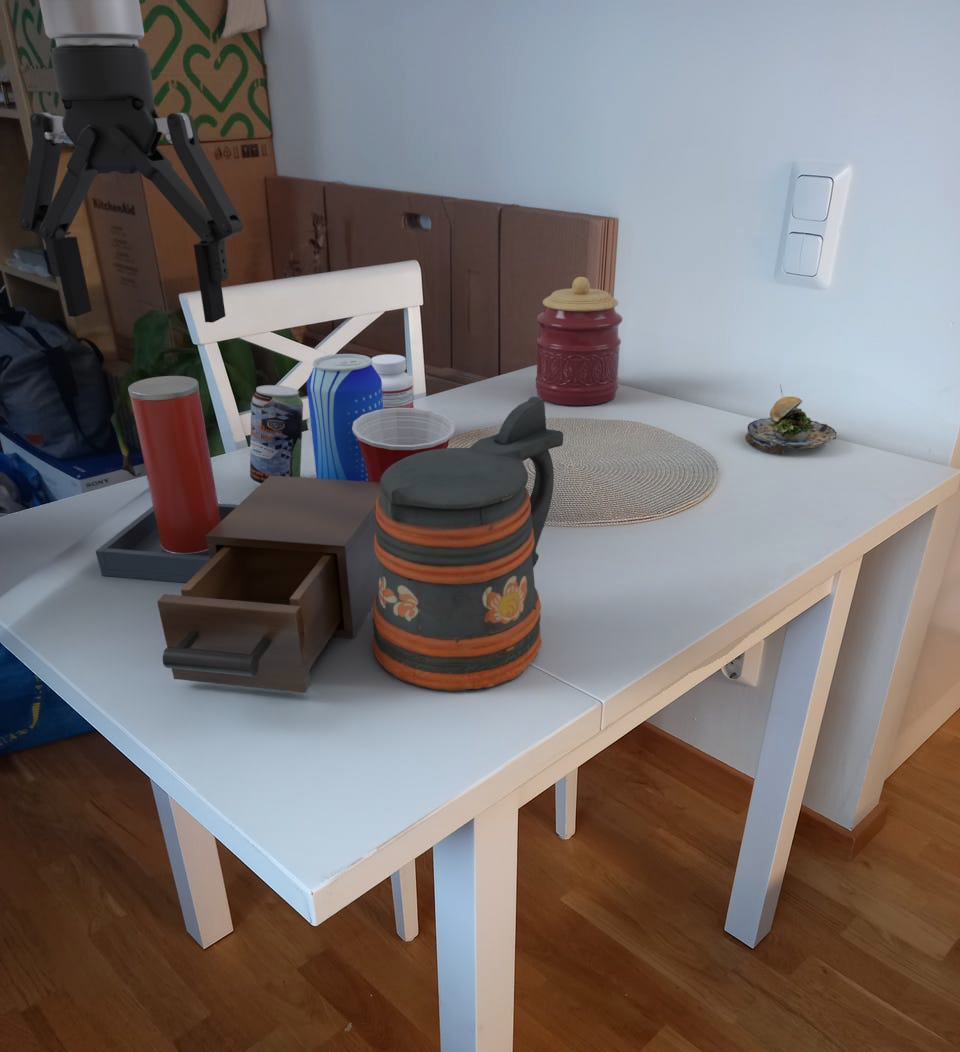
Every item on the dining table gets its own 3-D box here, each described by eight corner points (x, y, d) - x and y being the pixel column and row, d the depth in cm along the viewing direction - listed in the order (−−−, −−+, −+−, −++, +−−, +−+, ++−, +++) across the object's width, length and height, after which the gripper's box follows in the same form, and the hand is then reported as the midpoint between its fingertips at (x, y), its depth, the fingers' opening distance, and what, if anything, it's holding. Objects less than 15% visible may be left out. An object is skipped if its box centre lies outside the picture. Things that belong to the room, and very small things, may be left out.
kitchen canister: (627, 404, 141) (636, 283, 132) (543, 409, 140) (547, 286, 131) (605, 382, 152) (612, 268, 143) (528, 385, 151) (530, 271, 142)
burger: (782, 463, 119) (792, 405, 115) (726, 436, 128) (733, 382, 124) (855, 449, 123) (866, 393, 119) (795, 424, 132) (804, 371, 129)
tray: (101, 575, 94) (95, 550, 92) (165, 522, 105) (161, 499, 104) (226, 586, 91) (222, 561, 90) (278, 530, 103) (275, 507, 101)
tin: (150, 556, 96) (114, 392, 87) (179, 530, 101) (148, 374, 92) (208, 560, 94) (178, 395, 86) (234, 534, 100) (209, 377, 91)
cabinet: (353, 638, 82) (344, 546, 78) (221, 626, 84) (205, 535, 80) (397, 566, 95) (391, 482, 90) (281, 557, 97) (270, 475, 92)
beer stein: (477, 575, 93) (475, 375, 82) (601, 620, 85) (615, 405, 74) (338, 653, 80) (315, 429, 70) (468, 715, 72) (463, 471, 62)
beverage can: (243, 484, 115) (228, 388, 108) (294, 470, 119) (283, 377, 113) (267, 499, 111) (254, 399, 104) (320, 484, 115) (310, 387, 108)
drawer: (286, 724, 70) (273, 642, 66) (147, 709, 72) (128, 628, 68) (357, 611, 85) (350, 539, 81) (241, 601, 87) (229, 530, 83)
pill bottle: (371, 432, 132) (366, 353, 126) (414, 431, 132) (411, 352, 126) (370, 446, 126) (364, 365, 121) (415, 445, 127) (411, 363, 121)
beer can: (360, 514, 106) (348, 374, 98) (304, 500, 110) (288, 364, 102) (402, 490, 112) (395, 357, 104) (348, 478, 116) (337, 348, 108)
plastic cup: (393, 557, 96) (385, 446, 90) (342, 523, 104) (332, 419, 98) (477, 531, 102) (475, 425, 96) (423, 501, 109) (418, 400, 103)
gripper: (261, 44, 76) (289, 313, 87) (-10, 47, 80) (49, 303, 91) (222, 40, 70) (257, 330, 80) (-70, 44, 74) (1, 319, 85)
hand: (147, 316), depth 86 cm, fingers open, 13 cm apart
